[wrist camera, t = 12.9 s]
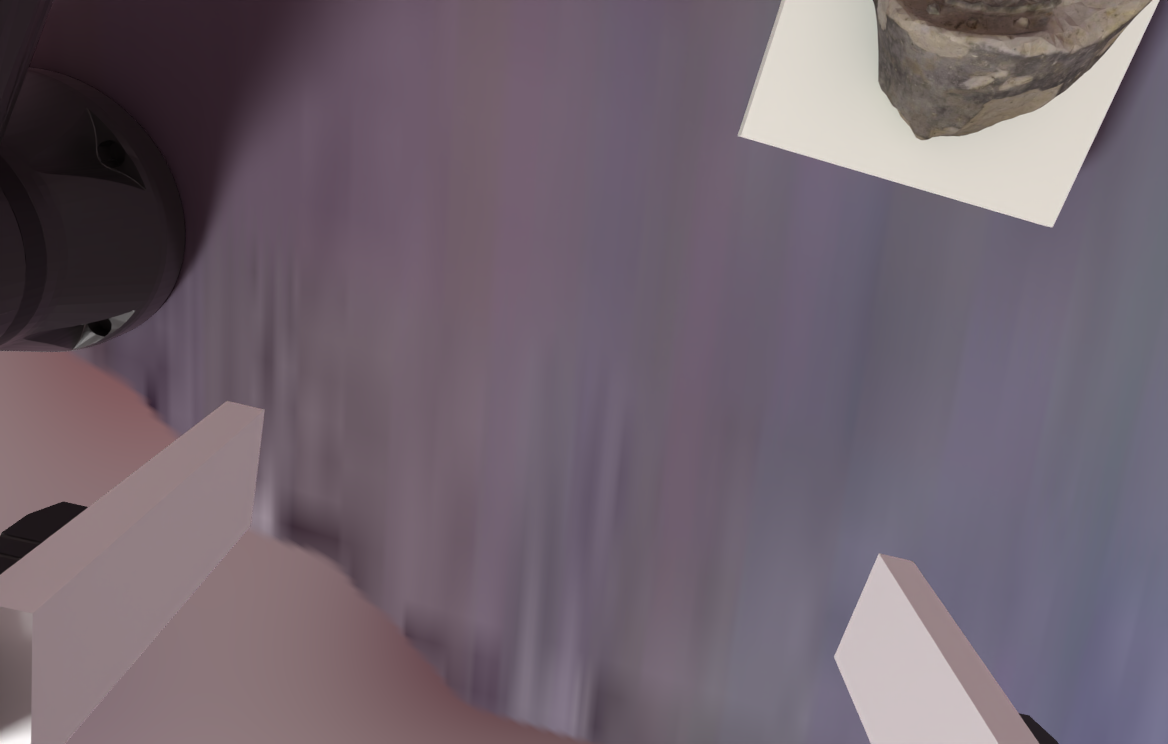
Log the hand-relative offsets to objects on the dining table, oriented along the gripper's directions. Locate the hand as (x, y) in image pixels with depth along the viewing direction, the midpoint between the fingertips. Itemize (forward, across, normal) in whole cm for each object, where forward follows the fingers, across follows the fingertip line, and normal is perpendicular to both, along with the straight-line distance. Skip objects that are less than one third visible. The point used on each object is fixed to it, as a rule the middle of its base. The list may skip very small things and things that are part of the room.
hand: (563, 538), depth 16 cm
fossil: (+24, +14, +17) cm, 33 cm away
